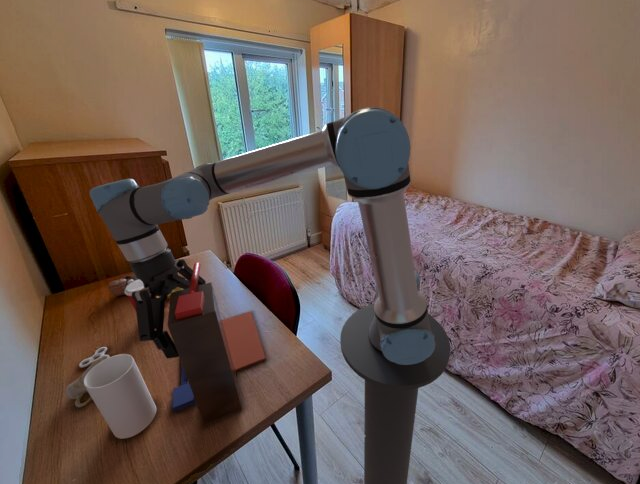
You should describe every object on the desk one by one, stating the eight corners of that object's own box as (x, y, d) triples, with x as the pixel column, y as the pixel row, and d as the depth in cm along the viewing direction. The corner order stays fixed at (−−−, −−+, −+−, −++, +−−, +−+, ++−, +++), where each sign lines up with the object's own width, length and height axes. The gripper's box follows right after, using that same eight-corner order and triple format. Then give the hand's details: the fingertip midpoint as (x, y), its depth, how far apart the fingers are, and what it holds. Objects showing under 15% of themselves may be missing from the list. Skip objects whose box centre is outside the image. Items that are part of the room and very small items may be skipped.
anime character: (172, 274, 108) (116, 297, 96) (177, 288, 110) (122, 312, 98) (150, 254, 123) (98, 272, 111) (154, 267, 125) (104, 285, 113)
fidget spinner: (77, 369, 77) (76, 367, 77) (90, 351, 83) (89, 349, 83) (107, 363, 79) (106, 361, 79) (117, 345, 85) (116, 343, 84)
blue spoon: (176, 353, 82) (175, 349, 81) (193, 347, 84) (192, 343, 83) (174, 412, 66) (172, 408, 66) (195, 403, 68) (193, 399, 68)
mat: (251, 312, 97) (251, 311, 97) (265, 359, 79) (265, 357, 79) (213, 324, 92) (212, 323, 92) (219, 377, 74) (218, 376, 74)
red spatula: (188, 268, 69) (186, 263, 68) (207, 264, 70) (206, 259, 70) (176, 319, 53) (174, 313, 52) (202, 313, 54) (200, 307, 54)
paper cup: (167, 309, 99) (155, 275, 94) (163, 323, 93) (149, 288, 87) (141, 315, 97) (127, 280, 91) (135, 330, 90) (119, 294, 85)
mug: (66, 393, 71) (77, 353, 72) (115, 388, 77) (125, 351, 77) (58, 411, 65) (70, 367, 66) (112, 404, 71) (122, 364, 71)
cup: (123, 406, 68) (96, 358, 61) (161, 398, 69) (140, 350, 63) (105, 443, 60) (73, 393, 54) (148, 432, 62) (123, 382, 56)
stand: (235, 372, 76) (211, 281, 64) (242, 408, 67) (215, 311, 55) (202, 385, 72) (170, 292, 60) (204, 425, 63) (167, 325, 51)
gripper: (170, 233, 71) (204, 302, 79) (77, 292, 48) (138, 381, 56) (198, 228, 70) (229, 298, 78) (116, 286, 47) (172, 377, 55)
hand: (191, 333), depth 67 cm, fingers open, 13 cm apart
